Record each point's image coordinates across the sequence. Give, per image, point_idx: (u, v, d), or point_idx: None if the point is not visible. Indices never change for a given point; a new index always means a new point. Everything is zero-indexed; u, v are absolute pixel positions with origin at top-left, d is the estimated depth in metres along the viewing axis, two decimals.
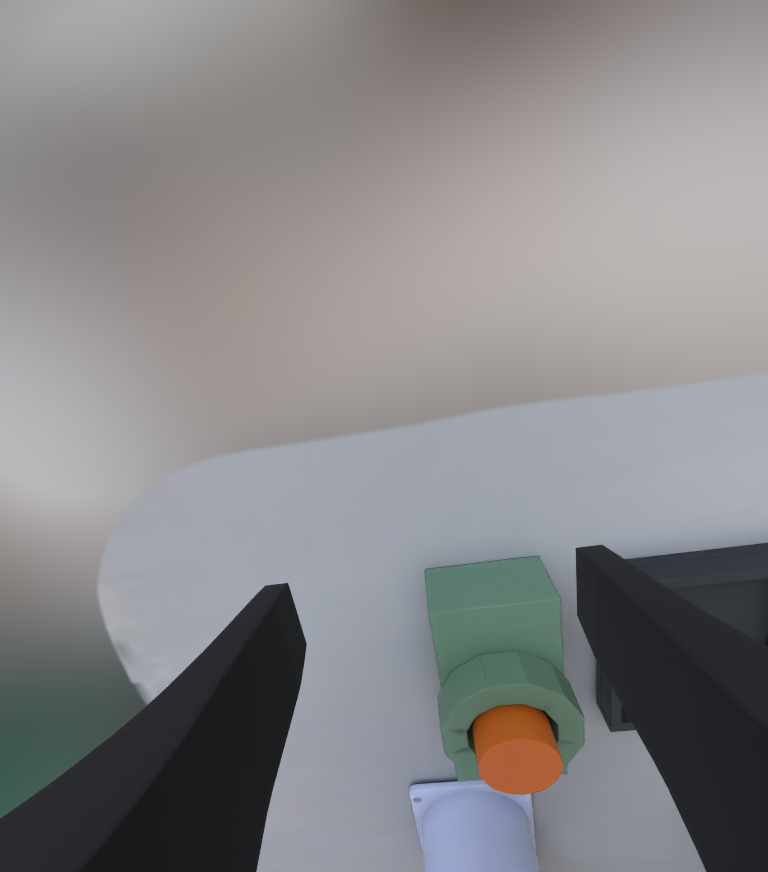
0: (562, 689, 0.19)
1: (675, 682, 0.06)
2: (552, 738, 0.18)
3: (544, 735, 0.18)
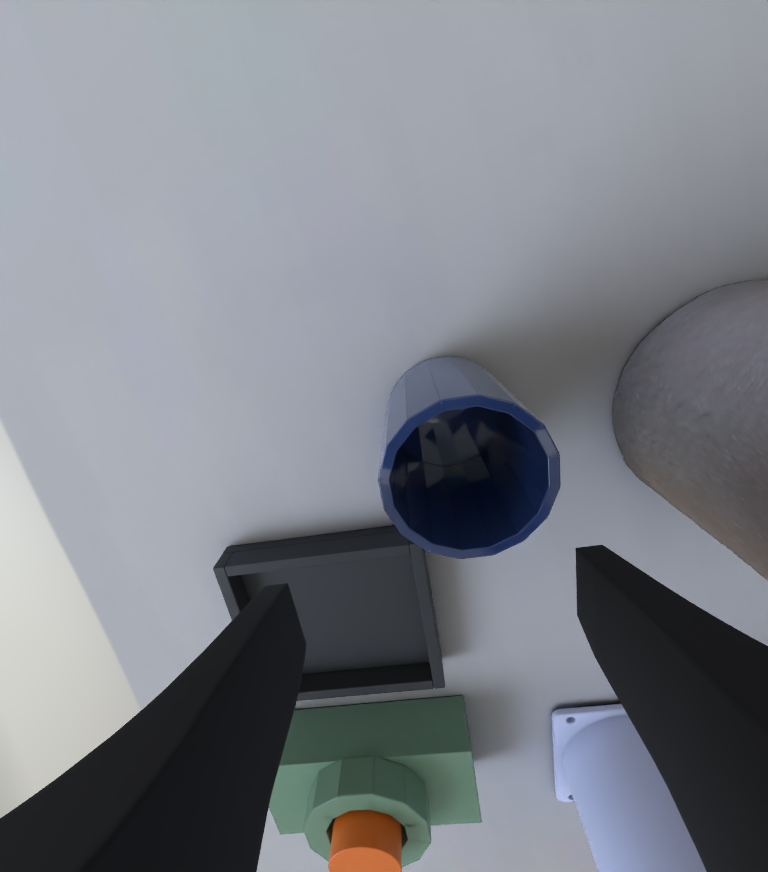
0: (315, 800, 0.21)
1: (676, 683, 0.06)
2: (342, 837, 0.20)
3: (334, 846, 0.20)
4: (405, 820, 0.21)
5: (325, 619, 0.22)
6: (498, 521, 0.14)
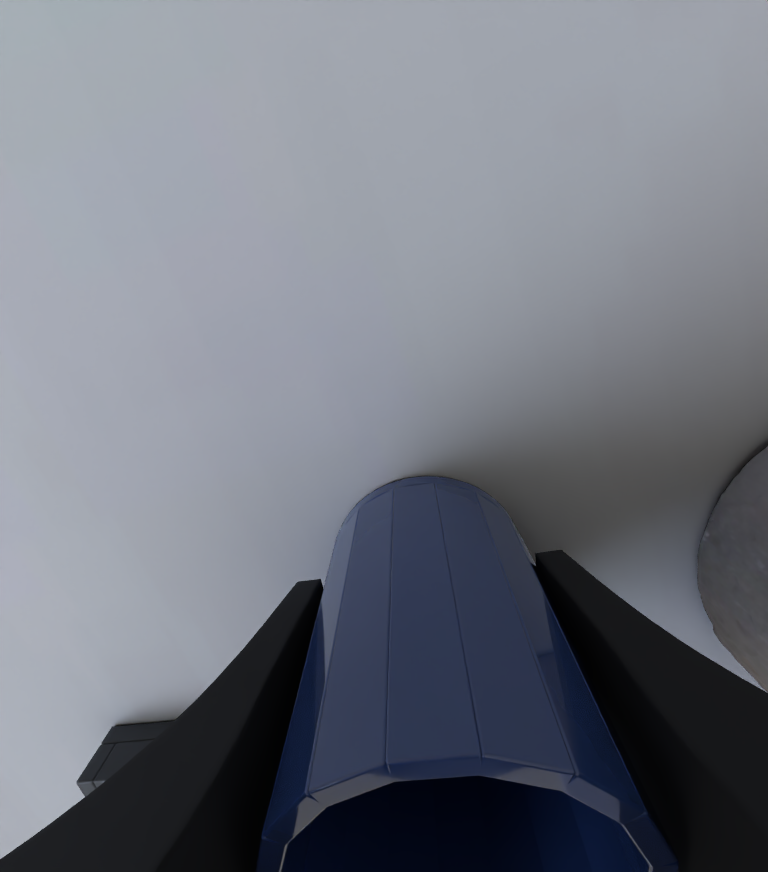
0: None
1: (615, 689, 0.07)
2: None
3: None
4: None
5: None
6: None
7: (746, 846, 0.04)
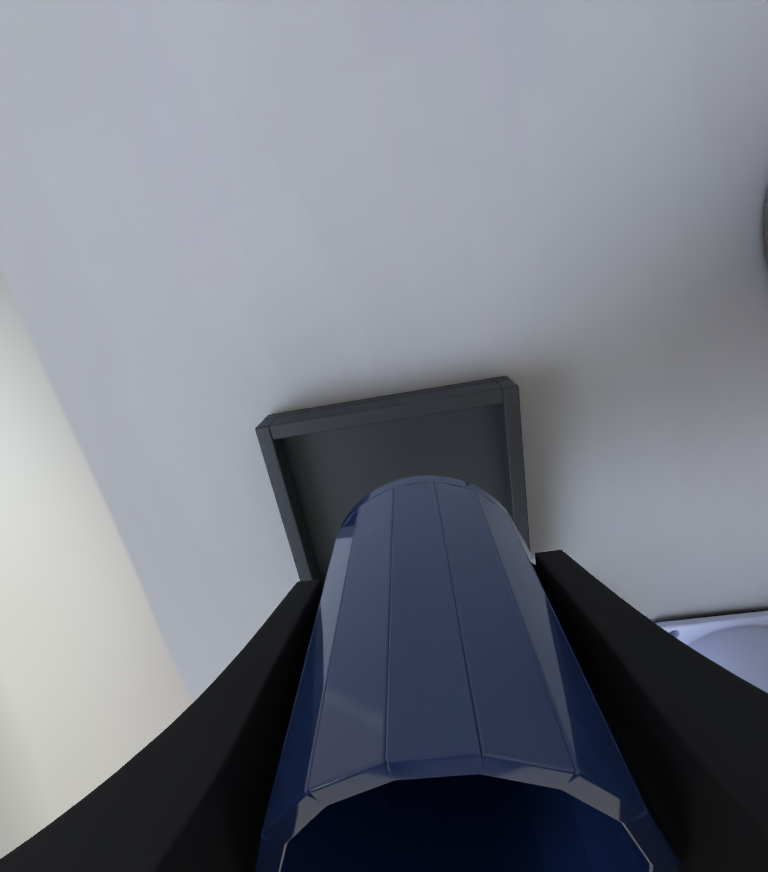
0: None
1: (614, 688, 0.07)
2: None
3: None
4: None
5: None
6: None
7: (746, 846, 0.04)
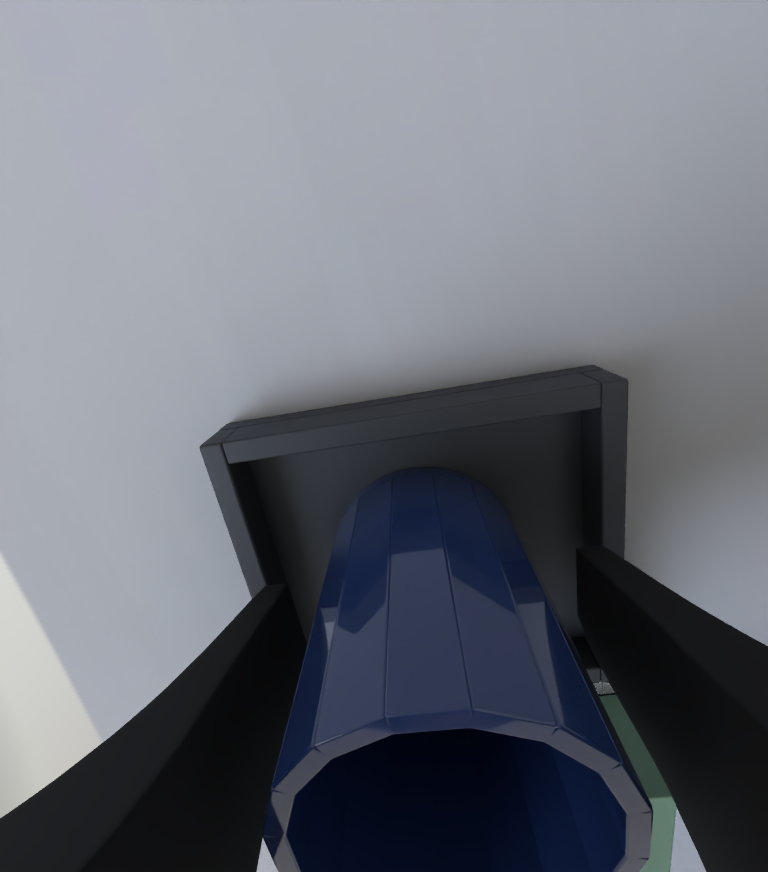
0: None
1: (675, 683, 0.06)
2: None
3: None
4: None
5: None
6: (513, 840, 0.07)
7: None
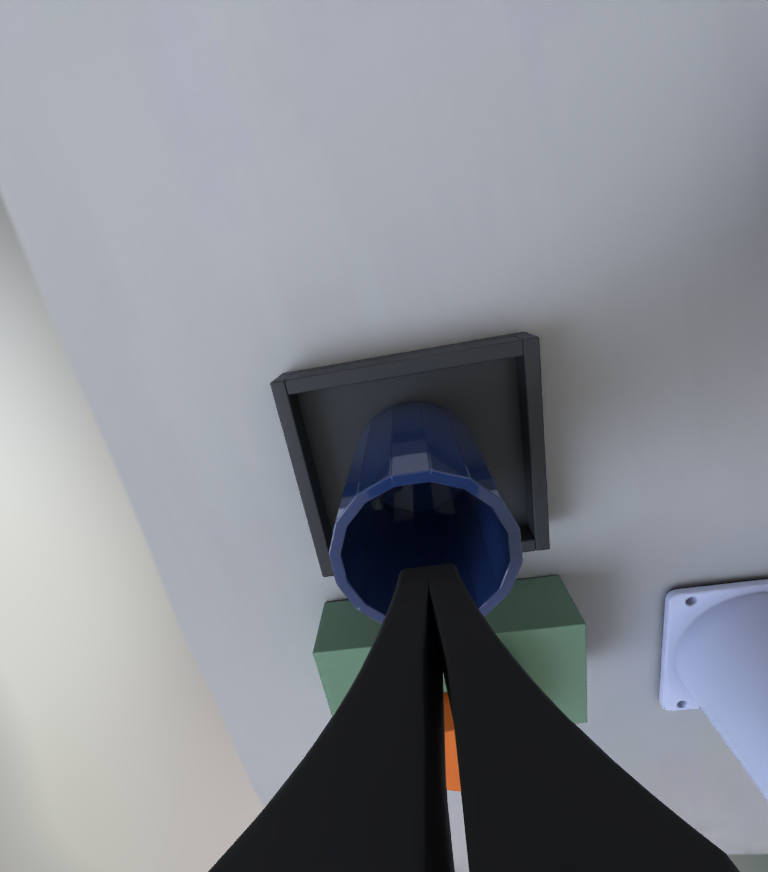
0: None
1: None
2: None
3: None
4: None
5: None
6: None
7: None
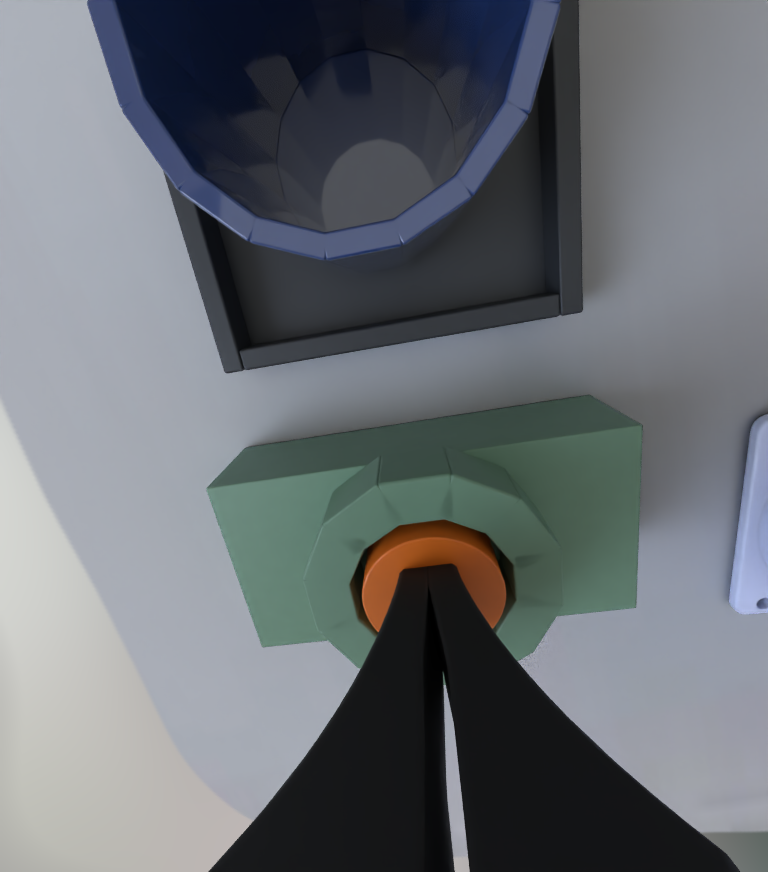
0: (328, 514, 0.10)
1: None
2: (389, 537, 0.10)
3: (373, 556, 0.10)
4: (517, 546, 0.10)
5: None
6: None
7: None
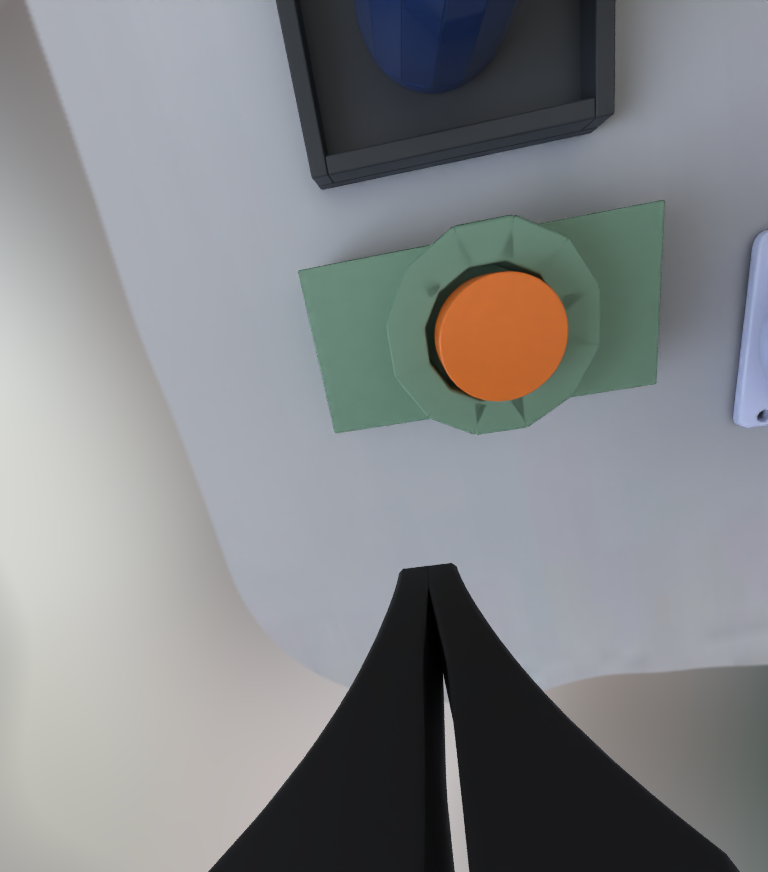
0: None
1: None
2: (463, 287, 0.12)
3: (449, 303, 0.12)
4: (564, 285, 0.12)
5: None
6: None
7: None
